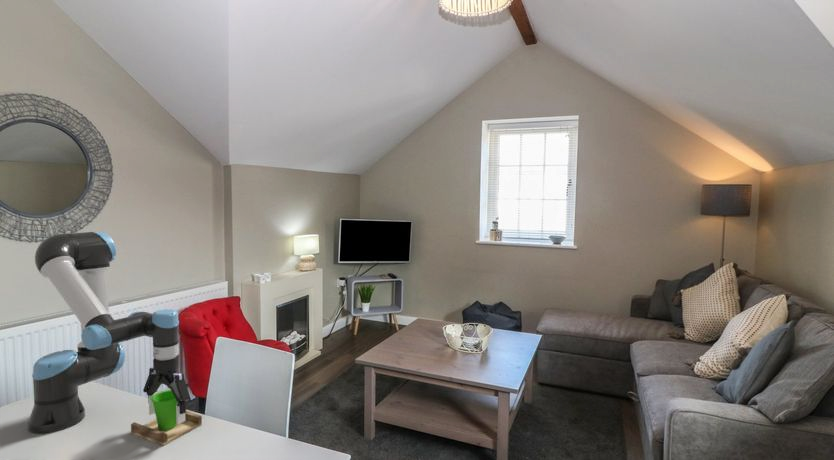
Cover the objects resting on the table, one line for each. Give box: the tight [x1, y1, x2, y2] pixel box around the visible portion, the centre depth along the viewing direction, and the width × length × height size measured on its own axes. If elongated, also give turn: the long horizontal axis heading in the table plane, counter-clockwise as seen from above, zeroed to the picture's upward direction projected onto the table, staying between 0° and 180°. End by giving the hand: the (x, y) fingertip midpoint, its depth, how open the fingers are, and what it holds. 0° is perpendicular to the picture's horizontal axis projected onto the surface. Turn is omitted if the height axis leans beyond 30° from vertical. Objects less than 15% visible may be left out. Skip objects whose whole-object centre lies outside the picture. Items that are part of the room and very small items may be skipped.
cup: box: [151, 389, 178, 431], centre depth 147 cm, size 9×9×11 cm
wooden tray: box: [130, 410, 203, 446], centre depth 148 cm, size 16×14×3 cm
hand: (167, 417), depth 148 cm, fingers open, 13 cm apart
